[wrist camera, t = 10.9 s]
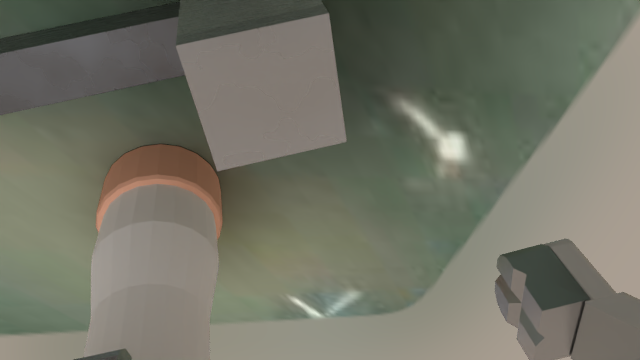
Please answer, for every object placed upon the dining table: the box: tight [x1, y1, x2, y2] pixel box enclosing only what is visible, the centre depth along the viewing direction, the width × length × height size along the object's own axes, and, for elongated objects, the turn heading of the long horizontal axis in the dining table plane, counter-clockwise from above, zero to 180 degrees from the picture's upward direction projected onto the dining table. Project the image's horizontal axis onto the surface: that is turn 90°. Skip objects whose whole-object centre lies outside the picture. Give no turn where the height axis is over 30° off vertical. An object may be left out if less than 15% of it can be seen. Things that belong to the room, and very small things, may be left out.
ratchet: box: [0, 2, 185, 115], centre depth 25 cm, size 7×26×6 cm, turn 99°
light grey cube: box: [176, 0, 347, 171], centre depth 23 cm, size 6×6×7 cm
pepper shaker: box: [83, 144, 223, 360], centre depth 26 cm, size 7×7×19 cm
